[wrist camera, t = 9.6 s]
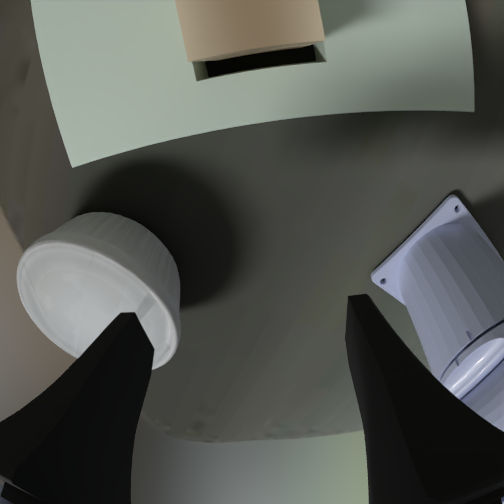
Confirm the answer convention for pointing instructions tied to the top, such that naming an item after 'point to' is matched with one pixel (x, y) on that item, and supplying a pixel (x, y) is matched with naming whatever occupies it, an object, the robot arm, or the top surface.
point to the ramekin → (101, 283)
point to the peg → (247, 27)
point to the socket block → (243, 82)
